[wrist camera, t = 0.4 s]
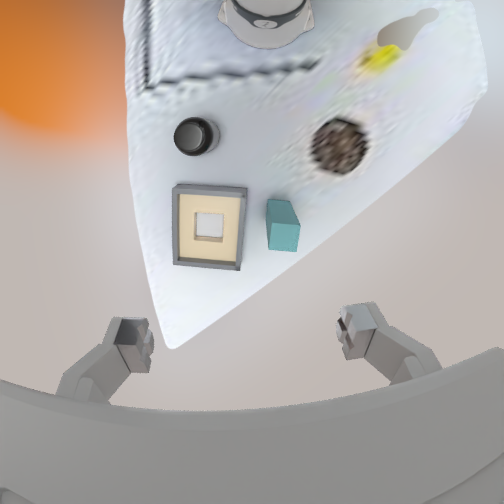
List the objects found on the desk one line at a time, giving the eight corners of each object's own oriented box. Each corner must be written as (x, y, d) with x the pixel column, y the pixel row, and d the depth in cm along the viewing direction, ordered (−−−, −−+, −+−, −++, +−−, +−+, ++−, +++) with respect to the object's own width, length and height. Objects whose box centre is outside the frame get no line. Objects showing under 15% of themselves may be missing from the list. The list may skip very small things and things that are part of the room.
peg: (267, 199, 56) (271, 222, 43) (289, 201, 56) (300, 225, 43) (265, 219, 58) (268, 249, 44) (286, 221, 58) (296, 252, 44)
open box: (178, 184, 55) (172, 188, 51) (247, 188, 55) (246, 193, 51) (178, 255, 62) (173, 264, 57) (241, 261, 62) (240, 270, 58)
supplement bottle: (222, 120, 50) (213, 118, 39) (217, 154, 53) (207, 161, 42) (188, 117, 49) (170, 114, 38) (183, 150, 52) (165, 156, 41)
